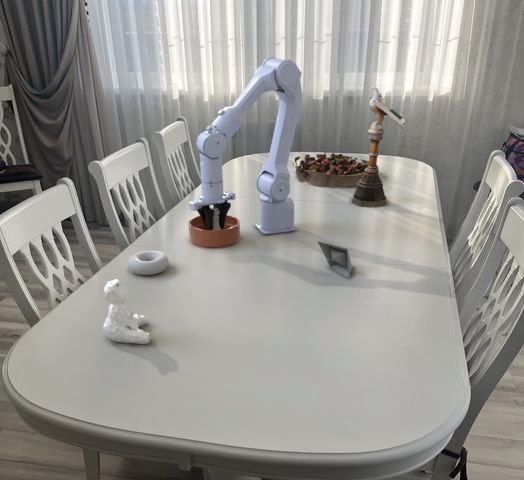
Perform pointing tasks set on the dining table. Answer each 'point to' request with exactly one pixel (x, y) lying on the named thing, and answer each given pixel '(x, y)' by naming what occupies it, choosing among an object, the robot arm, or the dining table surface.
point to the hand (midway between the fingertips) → (214, 230)
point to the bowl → (214, 232)
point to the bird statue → (374, 156)
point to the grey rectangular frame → (337, 258)
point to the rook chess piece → (216, 219)
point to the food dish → (331, 170)
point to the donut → (148, 262)
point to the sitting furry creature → (122, 317)
